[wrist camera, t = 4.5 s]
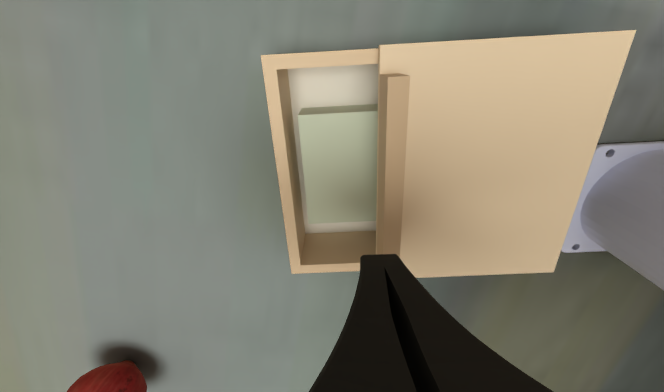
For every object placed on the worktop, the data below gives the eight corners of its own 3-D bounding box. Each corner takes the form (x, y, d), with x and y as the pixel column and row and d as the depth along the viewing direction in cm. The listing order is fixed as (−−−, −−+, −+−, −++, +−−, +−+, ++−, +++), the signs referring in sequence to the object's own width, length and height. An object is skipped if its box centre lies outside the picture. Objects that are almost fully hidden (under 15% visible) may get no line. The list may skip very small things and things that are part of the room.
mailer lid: (627, 30, 12) (692, 24, 10) (548, 267, 17) (580, 297, 15) (378, 45, 12) (388, 42, 10) (375, 274, 17) (381, 305, 15)
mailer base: (457, 45, 16) (493, 41, 12) (435, 231, 21) (457, 266, 18) (276, 56, 16) (260, 55, 13) (298, 237, 21) (291, 273, 18)
